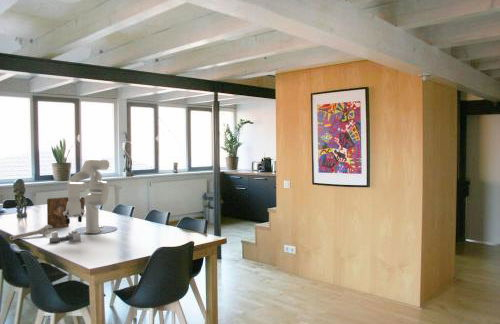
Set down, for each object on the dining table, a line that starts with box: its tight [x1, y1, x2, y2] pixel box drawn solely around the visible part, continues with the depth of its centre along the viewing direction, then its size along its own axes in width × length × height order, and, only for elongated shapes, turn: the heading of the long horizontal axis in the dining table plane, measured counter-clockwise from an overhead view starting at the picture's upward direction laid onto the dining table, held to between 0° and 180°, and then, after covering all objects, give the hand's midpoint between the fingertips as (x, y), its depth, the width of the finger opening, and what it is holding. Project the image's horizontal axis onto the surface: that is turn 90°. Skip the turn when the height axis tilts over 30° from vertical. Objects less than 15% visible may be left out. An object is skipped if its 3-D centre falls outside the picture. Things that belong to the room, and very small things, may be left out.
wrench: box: [9, 224, 53, 241], centre depth 321 cm, size 8×2×30 cm
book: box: [46, 196, 70, 229], centre depth 359 cm, size 16×6×25 cm, turn 129°
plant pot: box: [79, 196, 86, 213], centre depth 425 cm, size 16×16×16 cm
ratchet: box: [49, 231, 68, 244], centre depth 311 cm, size 18×7×8 cm, turn 147°
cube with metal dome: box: [67, 230, 82, 244], centre depth 309 cm, size 6×6×8 cm
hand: (74, 222), depth 308 cm, fingers open, 9 cm apart
